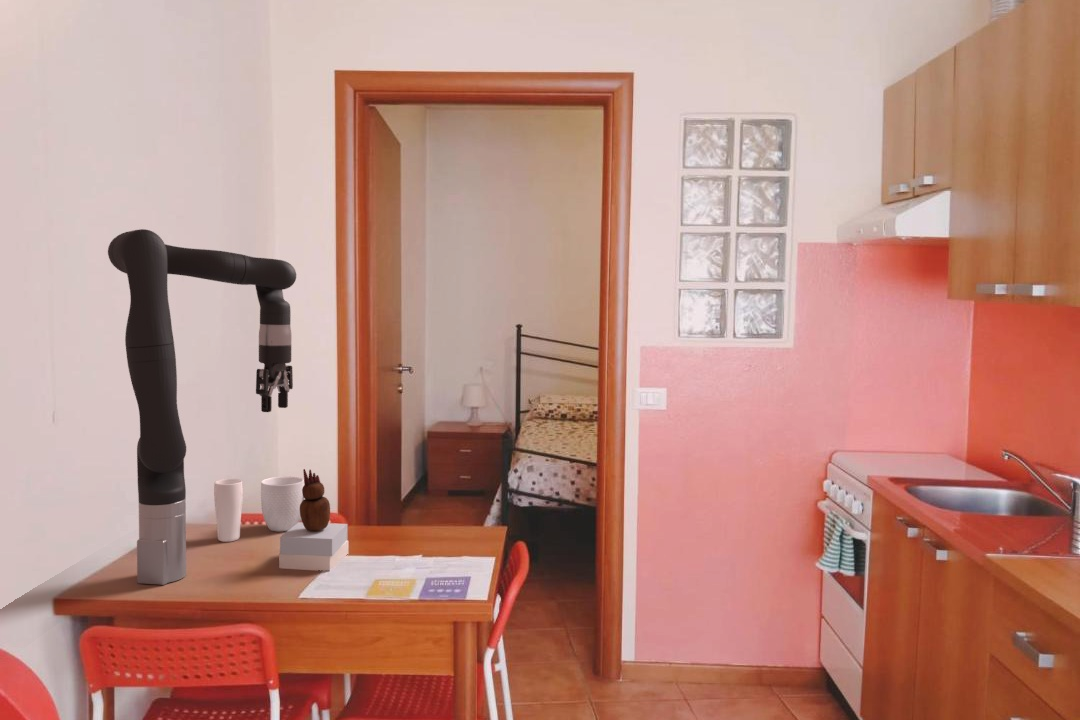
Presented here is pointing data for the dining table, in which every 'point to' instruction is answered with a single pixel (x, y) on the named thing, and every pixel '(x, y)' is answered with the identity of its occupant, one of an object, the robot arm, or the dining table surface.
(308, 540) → the tower top slab
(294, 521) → the mug
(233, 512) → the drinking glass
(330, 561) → the tower bottom slab
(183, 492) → the robot arm
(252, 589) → the dining table surface
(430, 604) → the dining table surface
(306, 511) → the wooden figurine
